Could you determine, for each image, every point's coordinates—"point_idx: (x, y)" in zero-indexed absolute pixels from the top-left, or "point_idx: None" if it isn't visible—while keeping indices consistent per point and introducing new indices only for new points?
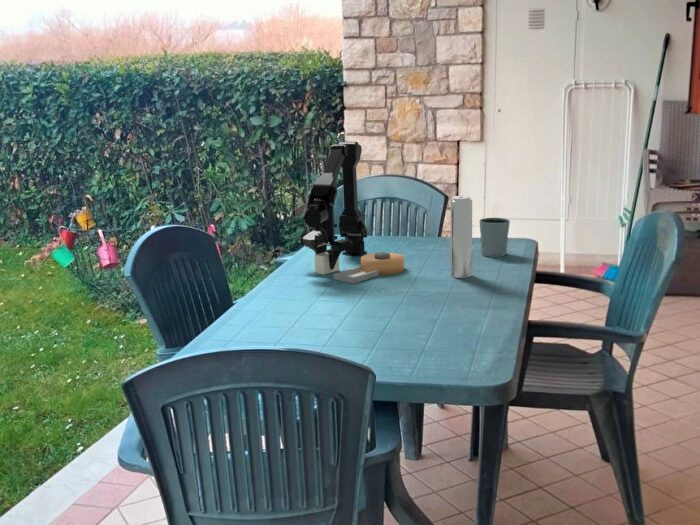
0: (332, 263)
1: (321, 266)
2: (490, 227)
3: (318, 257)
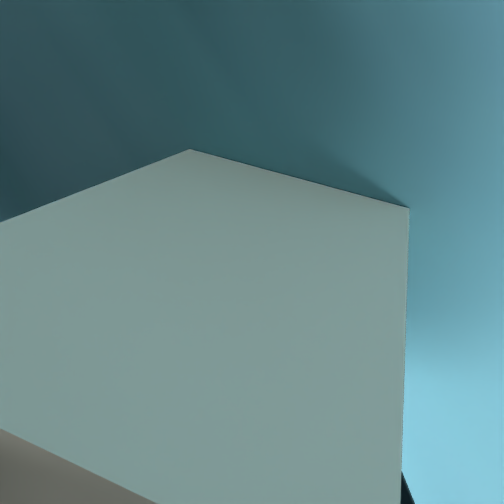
0: None
1: (173, 205)
2: None
3: (127, 373)
